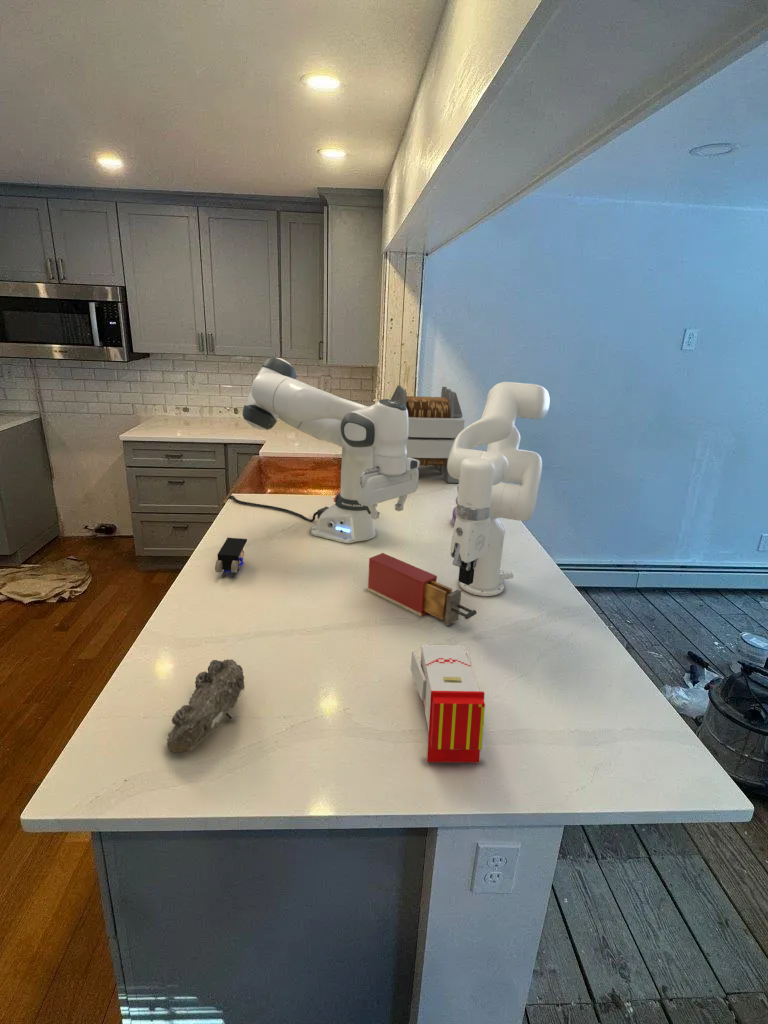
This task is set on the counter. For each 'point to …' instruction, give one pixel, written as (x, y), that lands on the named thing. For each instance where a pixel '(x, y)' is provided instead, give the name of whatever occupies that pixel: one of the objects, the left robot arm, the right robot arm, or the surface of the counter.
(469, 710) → the toy
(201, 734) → the fossil
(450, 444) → the transformer
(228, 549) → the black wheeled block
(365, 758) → the counter surface
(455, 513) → the figurine
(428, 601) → the drawer
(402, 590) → the cabinet
